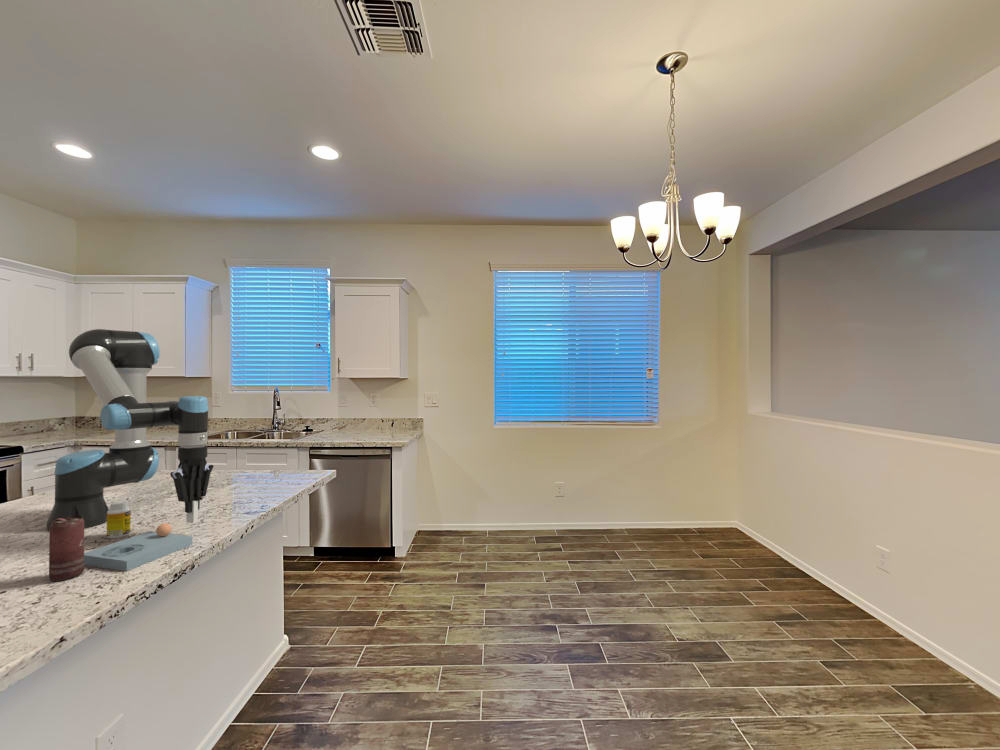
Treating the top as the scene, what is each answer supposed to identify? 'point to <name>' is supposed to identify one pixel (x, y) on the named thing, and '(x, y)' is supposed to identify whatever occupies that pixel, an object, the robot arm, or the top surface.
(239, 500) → the top surface
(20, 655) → the top surface
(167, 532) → the ball
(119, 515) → the supplement bottle
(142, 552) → the board
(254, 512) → the top surface
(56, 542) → the can
